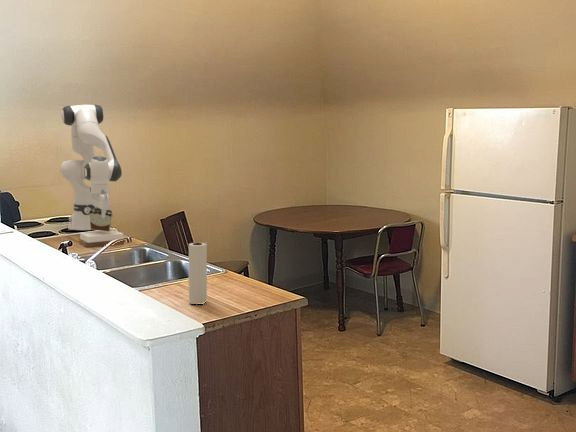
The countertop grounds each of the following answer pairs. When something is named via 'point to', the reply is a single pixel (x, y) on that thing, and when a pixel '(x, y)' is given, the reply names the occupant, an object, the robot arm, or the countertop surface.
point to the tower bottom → (97, 243)
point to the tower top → (100, 236)
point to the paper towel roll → (197, 273)
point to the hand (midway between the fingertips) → (101, 216)
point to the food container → (100, 219)
